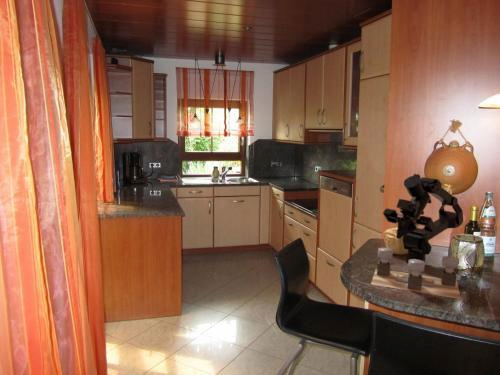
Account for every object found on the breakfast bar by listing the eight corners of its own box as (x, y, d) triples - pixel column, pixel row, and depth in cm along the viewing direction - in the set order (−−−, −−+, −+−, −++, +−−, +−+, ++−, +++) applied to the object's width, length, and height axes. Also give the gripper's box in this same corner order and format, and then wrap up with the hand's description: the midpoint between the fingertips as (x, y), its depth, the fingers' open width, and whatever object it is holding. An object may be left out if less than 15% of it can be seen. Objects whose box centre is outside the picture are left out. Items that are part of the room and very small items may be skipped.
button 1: (384, 261, 154) (385, 247, 153) (394, 265, 150) (396, 251, 149) (373, 262, 152) (375, 248, 151) (383, 267, 148) (385, 252, 147)
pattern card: (396, 275, 150) (396, 273, 150) (433, 281, 146) (433, 279, 145) (395, 281, 144) (395, 279, 144) (433, 287, 140) (434, 285, 140)
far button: (414, 273, 142) (416, 258, 141) (426, 278, 138) (428, 263, 137) (403, 275, 140) (405, 260, 139) (415, 281, 136) (417, 265, 135)
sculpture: (378, 249, 185) (380, 225, 183) (400, 247, 189) (402, 223, 187) (395, 257, 174) (398, 232, 173) (418, 255, 179) (421, 230, 177)
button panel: (375, 272, 157) (376, 258, 156) (456, 284, 147) (458, 269, 146) (370, 288, 142) (371, 272, 141) (460, 303, 132) (462, 286, 131)
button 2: (447, 270, 146) (449, 255, 146) (460, 275, 142) (462, 260, 141) (437, 272, 144) (439, 257, 143) (450, 277, 140) (451, 261, 139)
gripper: (387, 187, 162) (367, 219, 157) (434, 195, 147) (413, 230, 142) (397, 205, 168) (378, 236, 163) (443, 214, 153) (424, 249, 148)
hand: (397, 237), depth 154 cm, fingers closed
